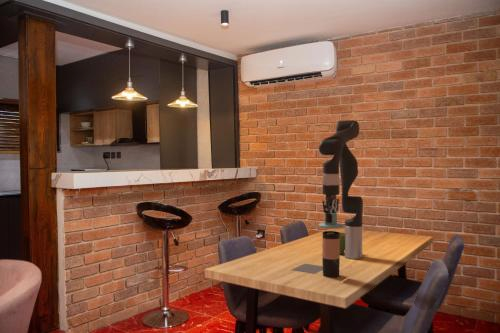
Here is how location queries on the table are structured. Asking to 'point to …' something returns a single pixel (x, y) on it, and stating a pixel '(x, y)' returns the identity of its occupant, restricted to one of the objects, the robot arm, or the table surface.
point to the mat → (308, 268)
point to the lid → (331, 225)
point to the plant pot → (342, 242)
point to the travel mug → (331, 254)
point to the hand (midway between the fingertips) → (331, 221)
